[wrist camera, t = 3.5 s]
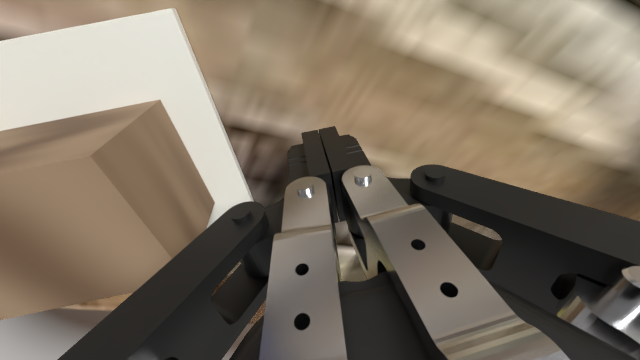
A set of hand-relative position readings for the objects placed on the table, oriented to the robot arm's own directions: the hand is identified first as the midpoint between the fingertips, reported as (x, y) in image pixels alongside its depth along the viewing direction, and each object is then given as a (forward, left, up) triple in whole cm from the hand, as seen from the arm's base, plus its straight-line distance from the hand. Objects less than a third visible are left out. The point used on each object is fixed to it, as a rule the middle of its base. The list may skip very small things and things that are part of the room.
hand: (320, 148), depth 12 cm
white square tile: (+10, 0, -2) cm, 11 cm away
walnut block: (+10, 0, -2) cm, 11 cm away
